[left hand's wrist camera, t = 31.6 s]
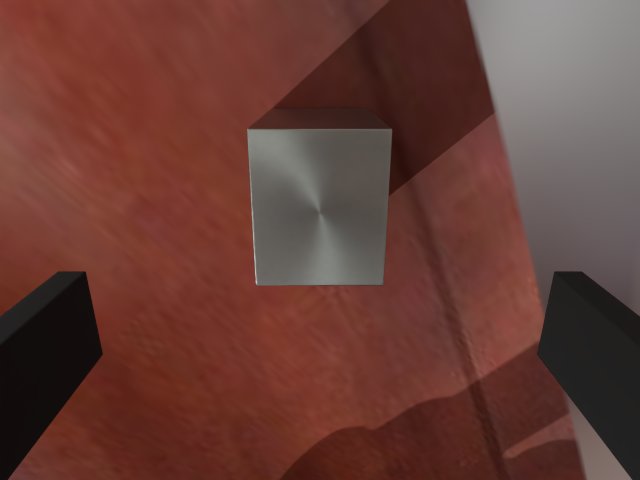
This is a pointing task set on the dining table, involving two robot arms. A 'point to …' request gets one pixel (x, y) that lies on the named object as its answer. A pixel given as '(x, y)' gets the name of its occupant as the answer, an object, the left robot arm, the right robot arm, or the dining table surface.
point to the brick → (319, 196)
